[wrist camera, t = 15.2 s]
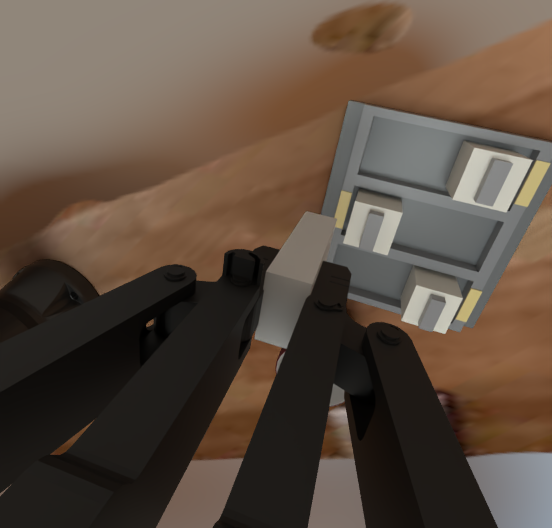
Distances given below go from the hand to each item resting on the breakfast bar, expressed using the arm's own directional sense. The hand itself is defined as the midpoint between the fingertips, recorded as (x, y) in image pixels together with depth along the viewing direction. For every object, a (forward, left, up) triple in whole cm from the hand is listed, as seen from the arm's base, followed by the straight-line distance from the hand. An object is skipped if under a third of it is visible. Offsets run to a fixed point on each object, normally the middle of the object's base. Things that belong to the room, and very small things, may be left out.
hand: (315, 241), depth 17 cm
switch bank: (+7, -4, -21) cm, 22 cm away
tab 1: (+3, -4, -19) cm, 20 cm away
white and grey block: (+10, +2, -19) cm, 22 cm away
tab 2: (+10, -10, -19) cm, 24 cm away
